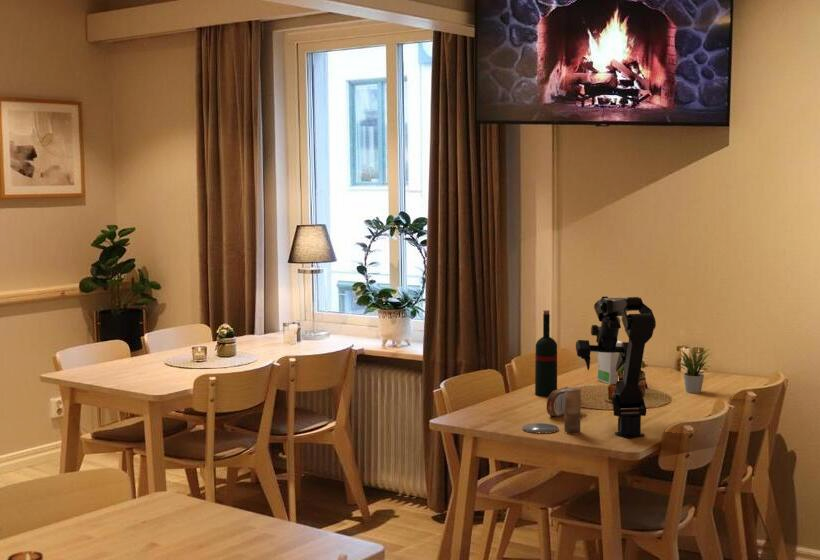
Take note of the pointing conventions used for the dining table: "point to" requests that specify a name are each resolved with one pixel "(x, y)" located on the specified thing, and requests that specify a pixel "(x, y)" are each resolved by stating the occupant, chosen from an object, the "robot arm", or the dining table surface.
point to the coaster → (540, 427)
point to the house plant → (693, 372)
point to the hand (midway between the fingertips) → (602, 369)
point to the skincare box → (608, 366)
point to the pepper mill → (572, 410)
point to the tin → (556, 402)
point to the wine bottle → (545, 361)
